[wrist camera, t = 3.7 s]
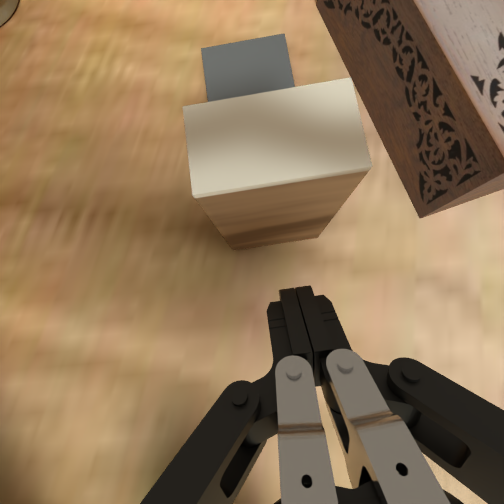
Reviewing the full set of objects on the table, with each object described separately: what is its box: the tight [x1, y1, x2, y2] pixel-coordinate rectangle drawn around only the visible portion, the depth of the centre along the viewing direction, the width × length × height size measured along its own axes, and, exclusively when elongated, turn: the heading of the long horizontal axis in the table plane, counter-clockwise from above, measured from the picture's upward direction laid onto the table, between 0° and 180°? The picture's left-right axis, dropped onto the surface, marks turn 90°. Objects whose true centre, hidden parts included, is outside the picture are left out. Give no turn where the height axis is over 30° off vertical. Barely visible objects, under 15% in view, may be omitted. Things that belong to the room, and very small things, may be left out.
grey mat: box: [201, 34, 295, 102], centre depth 28 cm, size 16×9×1 cm, turn 8°
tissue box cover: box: [317, 0, 504, 218], centre depth 23 cm, size 26×14×10 cm, turn 19°
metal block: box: [183, 77, 372, 250], centre depth 19 cm, size 4×8×14 cm, turn 98°
